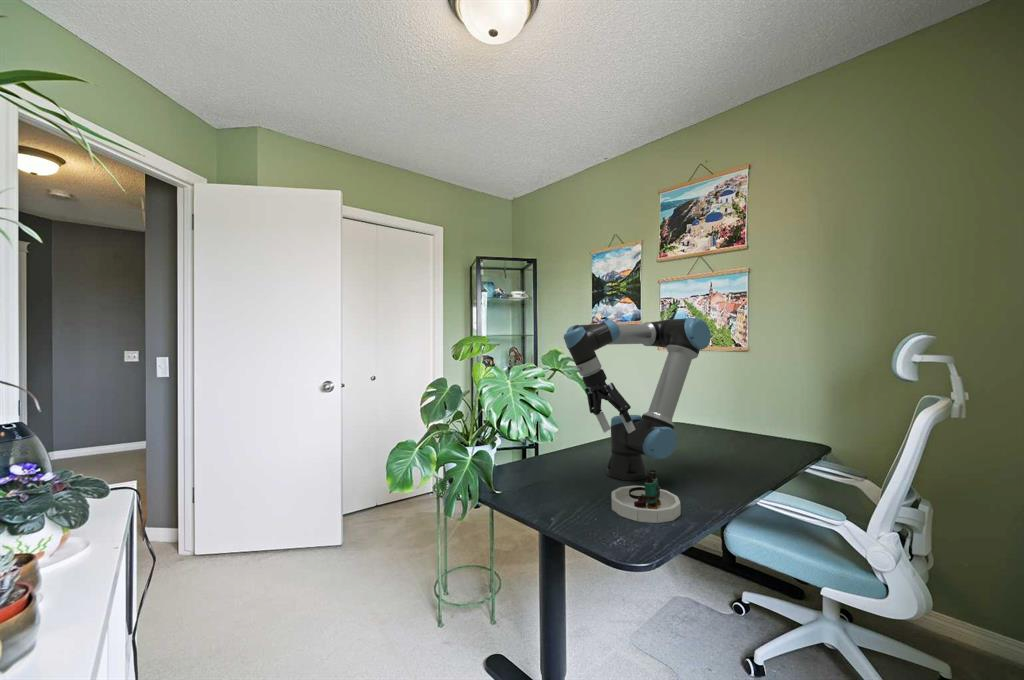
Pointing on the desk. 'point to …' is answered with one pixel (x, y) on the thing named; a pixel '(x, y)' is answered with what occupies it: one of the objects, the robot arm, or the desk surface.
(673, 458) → the desk surface
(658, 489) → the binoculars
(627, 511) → the dish
